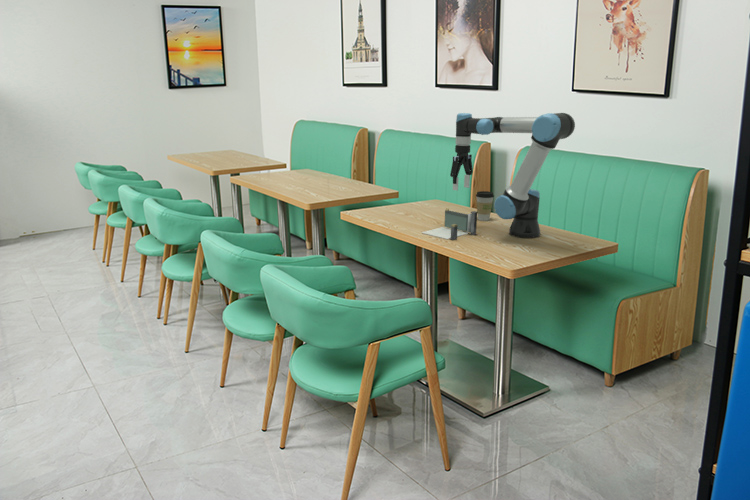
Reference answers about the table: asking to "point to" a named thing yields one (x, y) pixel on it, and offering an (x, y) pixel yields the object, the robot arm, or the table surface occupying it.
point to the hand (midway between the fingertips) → (461, 188)
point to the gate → (458, 220)
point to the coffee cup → (484, 205)
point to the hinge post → (473, 222)
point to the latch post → (454, 232)
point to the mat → (443, 233)
